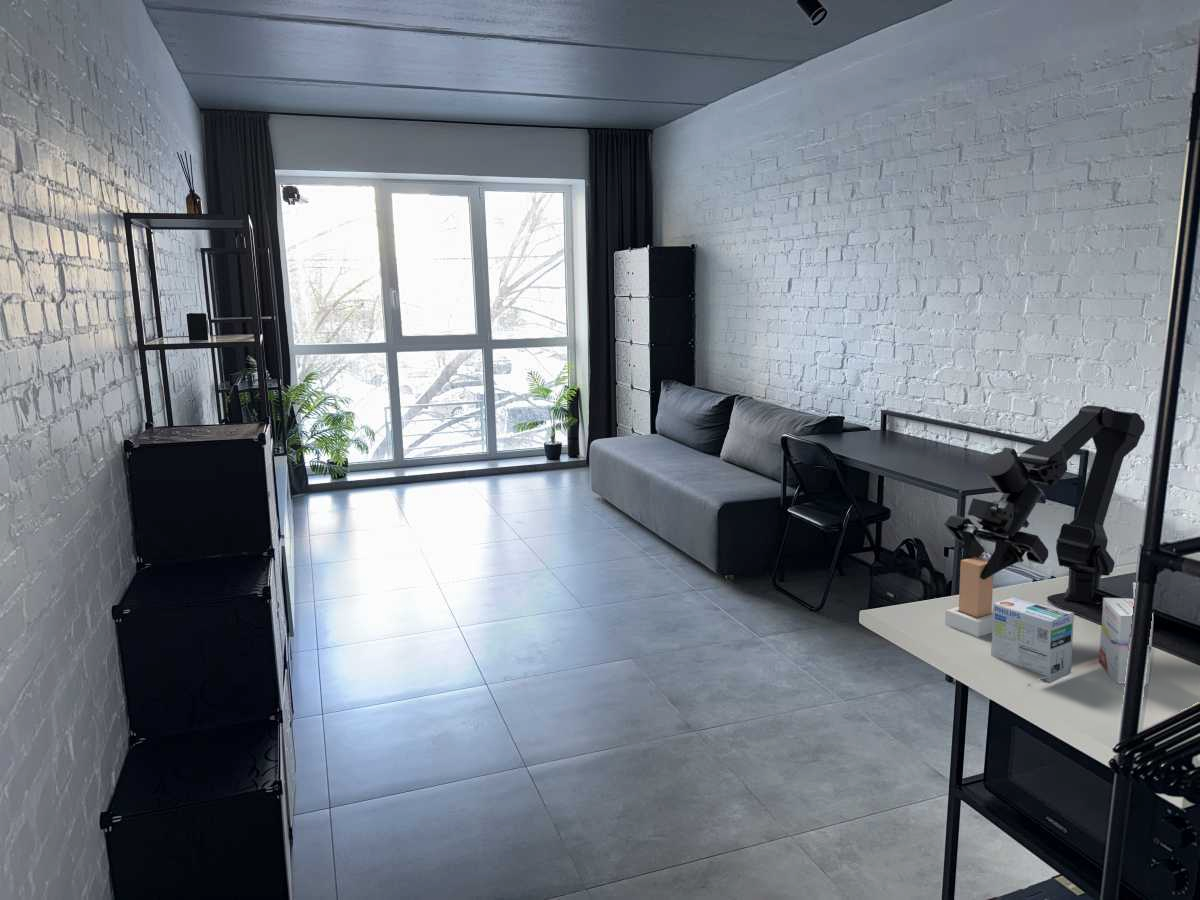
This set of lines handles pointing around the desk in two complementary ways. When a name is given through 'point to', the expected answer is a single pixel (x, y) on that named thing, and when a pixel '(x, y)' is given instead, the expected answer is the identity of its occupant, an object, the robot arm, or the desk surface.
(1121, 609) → the ink cartridge box
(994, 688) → the desk surface
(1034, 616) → the light bulb box
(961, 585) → the plug
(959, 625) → the white square socket
